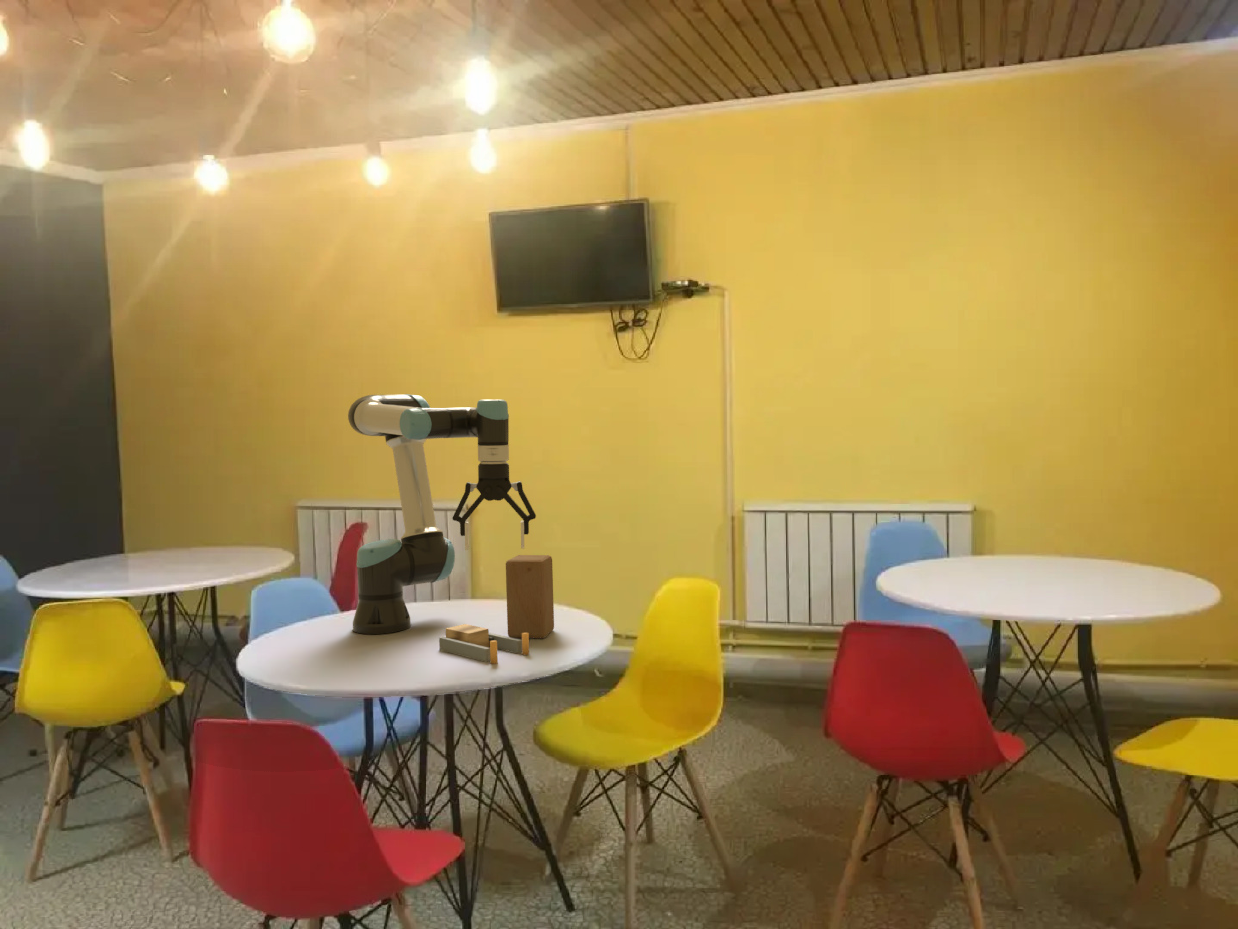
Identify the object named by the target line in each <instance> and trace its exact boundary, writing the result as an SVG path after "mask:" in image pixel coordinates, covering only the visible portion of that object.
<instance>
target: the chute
mask: <svg viewBox="0 0 1238 929" xmlns="http://www.w3.org/2000/svg"><path fill="white" fill-rule="evenodd" d="M438 642H439V650H440V651H442V652H447V653H450V654H453V655H454V654H455V655H459V656H463V657H464V658H465V657H466V658H470V659H474V660H477V661H481V662H485V663H489V662H490V664H491V665H495V664H498V663H499V662H498V650H502V651H507V652H512V653H515V654H522V655H523V656H528V655H530V638H529V633H522V638H521V639H520V638H511V637H509V636H505V635H501V634H496V633H492V632H489V648H488V647H484V646H479V645H475V644H471V643H467V642H463V641H459V640H455V639H451V638H446V636H441V637H439V638H438Z"/></svg>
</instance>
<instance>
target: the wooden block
mask: <svg viewBox="0 0 1238 929" xmlns="http://www.w3.org/2000/svg"><path fill="white" fill-rule="evenodd" d="M553 570H554V569H553V557H552V556H551V555H549V554H547V555H545V554H517V555H516V556H514V557H512V558H510V559H507V560H506V562H505V584H506V586H505V587H506V617H507V618H506V619H507V622H506V624H507V637H511V638H515V639H522V633H529V639H540V640H541V639H544V638H547V636H548V635H549V634H550V633H552V632H553V631H554V629H555V617H554V616H555V612H554V611H555V609H554V578H553V577H554V575H553V574H554V573H553Z"/></svg>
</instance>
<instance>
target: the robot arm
mask: <svg viewBox="0 0 1238 929" xmlns="http://www.w3.org/2000/svg"><path fill="white" fill-rule="evenodd" d="M508 408H509V406H508V402H507V401H506V400H505V399H479V400H478V401H477V404H476V407H471V406H467V407H465V406H462V407H430V404H429V403H428V401H427V400H426V399H425V398H424V397H423V396H421V395H418V394H409V393H405V394H369V395H365V396H361V397H360V398H357V399H356V400H355V401H354V402H353V403H352V404H351V405H350V408H349V410H348V414H347V420H348V423H349V425H350V426H351V428H352V430H354V431H355V432H357V433H359V434H360V435H364V436H370V437H384V438H385V444H386V445H387V446H388V447H389V448H391V449H392V453H393V460H394V466H395V473H396V474H395V475H396V479H397V486H398V493H399V497H400V498H399V499H400V504H401V512H402V518H403V524H404V530H405V531H404V533H403V535H402V536H401V537H400V539H398V538H389V539H381V540H377V541H376V540H375V541H372V542H368V543H365V544H364V545H363V544H362V545H361V547H359V548H358V550H357V554H356V570H357V573H356V574H357V575H356V576H357V594H358V602H357V606H356V609H355V613H354V616H353V620H352V631H353V632H354V633H356V634H357V633H358V634H362V635H363V634H365V635H381V634H391V633H396V632H397V633H398V632H402V631H404V630H407V629H410V627H411V625H412V624H411V615H410V613H409V611H408V608H407V606H406V603H405V600H404V593H403V590H404V589H403V587H408V586H413V585H414V586H415V585H422V584H429V583H431V584H432V583H436V582H439V581H444V580H446V579H448V577H450V575H451V574H452V572H453V569H454V566H455V560H456V555H455V554H456V552H455V548H454V544H453V543H452V541H451V540H450V539H449V538H446V537H445V536H444V531H443V530H442V529H440V528H438V526H437V524H436V517H435V516H436V515H435V511H434V505H433V504H434V503H433V500H432V499H433V498H432V497H433V496H432V492H431V486H430V479H429V472H428V466H427V460H426V454H425V448H424V444H425V443H426V441H427V440H431V439H460V438H461V439H462V438H464V439H465V438H477V461H478V462H479V464H478V465H477V476H478V478H477V479H478V480H477V483H476V482H475V483H474V482H473V483H471V482H470V481H467V482H466V483H465V487H464V493H463V495H462V498H461V499H460V501H459V503H458V505H457V507H456V510H455V512H454V514H453V516H452V521H456V522H458V523H459V530H460V531H459V534H460V536H461V537H464V546H465V547H464V549H465V551H468V550H469V549H470V531H469V530H470V528H469V521H467V520H468V518H469V517H470V516H471V515H472V514H473V513H474V511H475V510H476V509H477V508H478V506H480V504H481V503H482V502H483V501H484V500H486V501H488V502H491V501H501V500H505V501H506V503H507V504H508V505H509V506H510V507H511V508H512V509H513V511H515V512H516V514H517V515H518V516H519V517H520V518H521V519H522V520H520V544H521V545H520V547H521V548H520V549H522V550H523V549H525V535H529V533H530V530H529V528H530V524H529V522H530V521H532V520H535V519H536V518H537V515H536V512H535V511H534V509H533V507H532V505H531V503H530V501H529V499H528V497H527V495H526V494H525V491H524V490H523V489H524V488H523V483H522V481H519V480H518V481H517V482H511V481H510V464H509V463H508V462H509V460H510V449H509V448H510V447H509V446H510V444H509V429H510V428H509V427H510V426H509V422H510V421H509V419H510V418H509V417H510V416H509V409H508ZM512 488H513V490H514V491H515V492H517V493H518V495H519V497H520V499H521V501H522V502H523V505H524V507H525V509H526V511H527V512H528V514H526V513H525V511H524V510H523V509H522V508H521V507H520V506H519V504H518V503H517V502H515V500H514V499H513V498H512V496H510V494H509V491H510V490H511V489H512ZM475 489H476V490H477V491H478V493H479V494H480V495H478V497H477V498H476V500H475V501H474V502H473V503H472V504H471V505H470V507H469V508H468V509H467V510H466V511H465V512H464V514H463V515H462V516H461V515H460V514H461V513H462V511H463V509H464V506H465V505H466V502H467V500H468V498H469V496H470V494H471V492H472V493H473V492H474V490H475Z"/></svg>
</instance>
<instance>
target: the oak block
mask: <svg viewBox="0 0 1238 929" xmlns="http://www.w3.org/2000/svg"><path fill="white" fill-rule="evenodd" d="M489 633H490V632H489V628H486V627H481V626H476V625H472V624H467V623H462V624H459V625H455V626H451V627H446V628H445V637H446V638H451V639H455V640H459V641H463V642H467V643H471V644H475V645H479V646H484V647H488V648H489Z"/></svg>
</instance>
